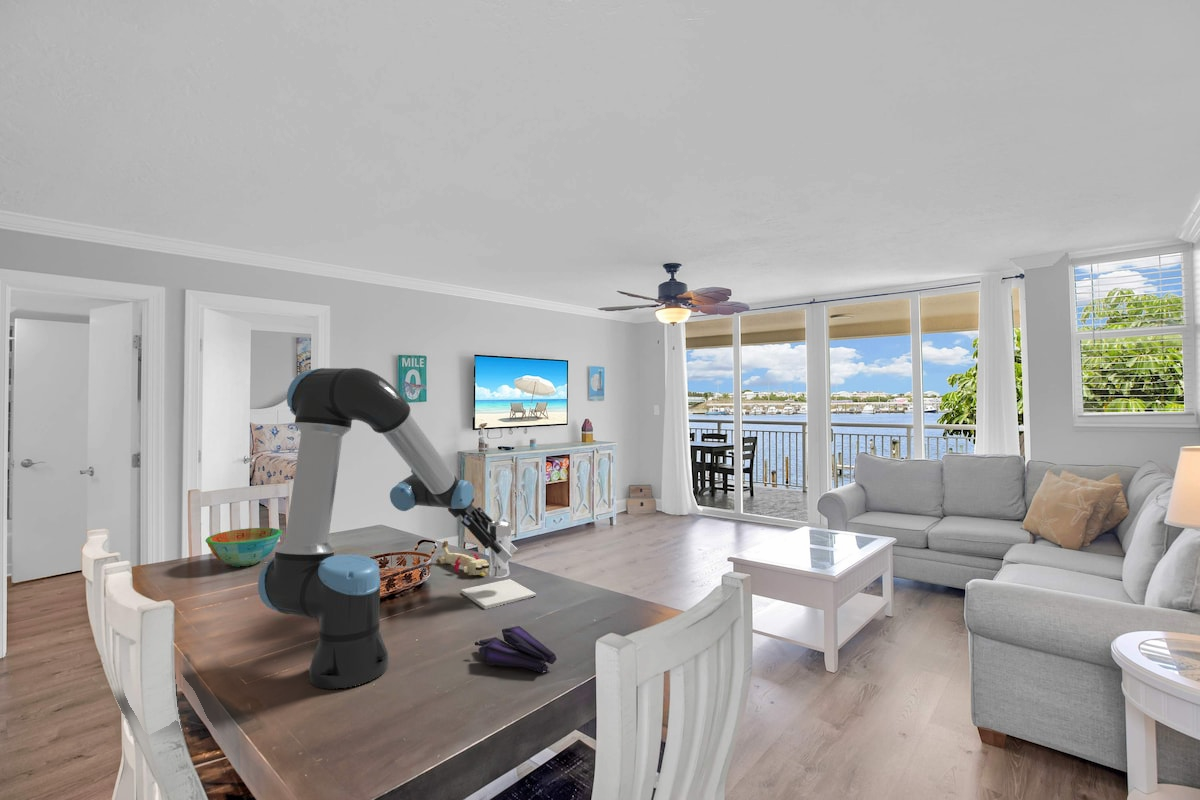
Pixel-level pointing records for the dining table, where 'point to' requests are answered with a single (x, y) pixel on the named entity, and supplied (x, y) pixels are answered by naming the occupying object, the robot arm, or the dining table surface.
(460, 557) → the cream toy animal
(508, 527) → the silver tall cylinder
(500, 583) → the mat
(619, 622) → the dining table surface
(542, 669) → the crystal
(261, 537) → the bowl
